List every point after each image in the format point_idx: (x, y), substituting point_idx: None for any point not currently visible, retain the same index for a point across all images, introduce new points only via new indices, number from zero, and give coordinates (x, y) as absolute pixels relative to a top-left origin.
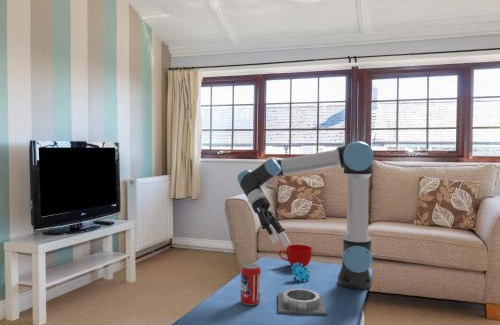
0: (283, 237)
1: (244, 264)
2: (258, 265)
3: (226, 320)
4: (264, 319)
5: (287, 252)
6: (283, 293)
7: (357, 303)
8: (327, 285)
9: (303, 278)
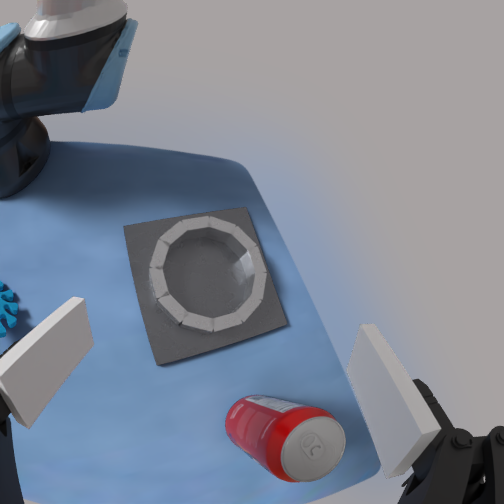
0: (45, 366)
1: (311, 479)
2: (299, 428)
3: (360, 410)
4: (326, 343)
5: None
6: (221, 329)
7: (143, 148)
8: (24, 222)
9: (2, 297)
